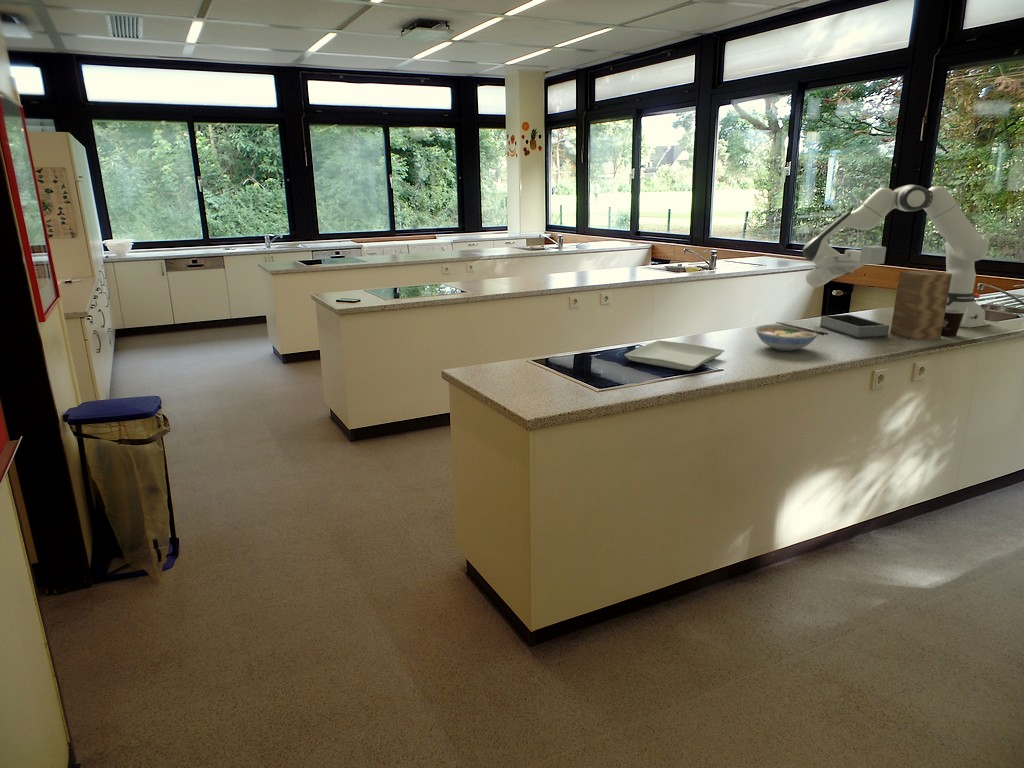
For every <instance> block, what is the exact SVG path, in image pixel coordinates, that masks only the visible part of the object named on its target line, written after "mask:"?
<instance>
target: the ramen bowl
mask: <svg viewBox="0 0 1024 768" xmlns="http://www.w3.org/2000/svg"><path fill="white" fill-rule="evenodd" d="M775 323H776V324H773V323H772V324H763V325H758V326H756V327H754V330H755V333H756V334H757V336H758V337H759V339H760V340H761V342H762V343H764V344H765V345H767V346H769V347H771V348H773V349H774V350H777V351H781V352H792V351H795V350H798V349H802V348H805V347H807V346H808V345H810V344H811V343H812V342H813V341H814V340H815V339H816V338H817V337H818V335H821V336H825V335H826V336H828V335H829V333H828V332H824V331H820V330H816V329H813V328H811V327H807V326H803V325H795V324H794V325H792V324H787V323H785V322H784V323H783V322H777V321H776V322H775Z"/></svg>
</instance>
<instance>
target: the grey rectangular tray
mask: <svg viewBox="0 0 1024 768" xmlns="http://www.w3.org/2000/svg"><path fill="white" fill-rule="evenodd" d="M819 328H821V329H825V330H827V331H831V332H834V333H837V334H839V335H843V336H846V337H849V338H852V339H856V340H867V339H868V340H869V339H883V338H888V336H889V329H890V325H889V324H885V323H882V322H880V321H879V322H878V321H874V320H871V319H867V318H864V317H859V316H856V315H852V314H833V315H831V314H830V315H821V316H820V324H819Z"/></svg>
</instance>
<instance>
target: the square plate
mask: <svg viewBox="0 0 1024 768" xmlns="http://www.w3.org/2000/svg"><path fill="white" fill-rule="evenodd" d="M724 352H725V350H724V349H720V348H715V347H708V346H703V345H697V344H690V343H684V342H679V341H678V342H676V341H669V340H668V341H667V340H659V339H658V340H656V341H653V342H651V343H648V344H646V345H642V346H640V347H637V348H635V349H634V350H630V351H628V352H627V353H624V357H626V358H627V359H628V360H629V361H633V362H636V363H641V364H645V365H646V364H647V365H651V366H657V367H662V368H663V367H664V368H669V369H674V370H681V371H692V370H695V369H697V368H698V367H700V366H702V365H703V364H705V363H706V364H707V363H709V362H710V361H712V360H714V359H716V358H718V357H719V356H721V355H722V354H723V353H724Z"/></svg>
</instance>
